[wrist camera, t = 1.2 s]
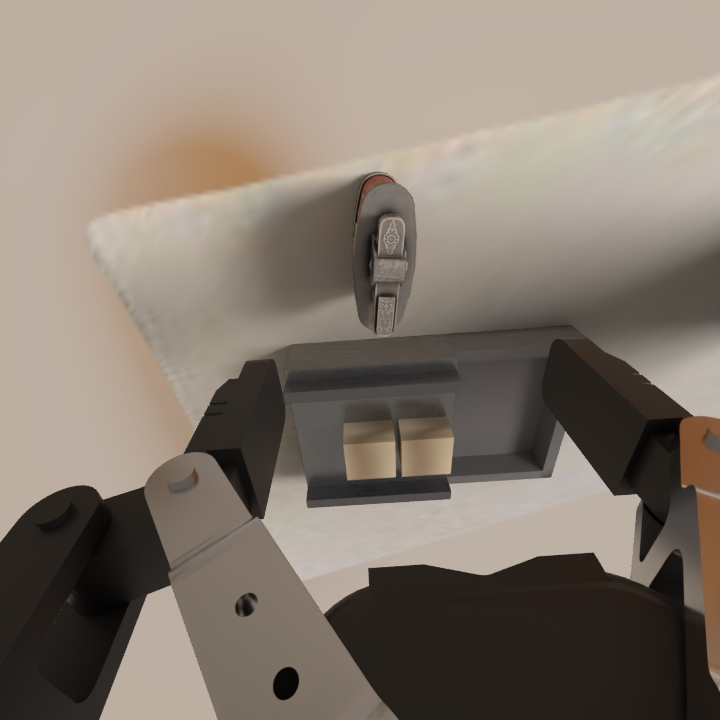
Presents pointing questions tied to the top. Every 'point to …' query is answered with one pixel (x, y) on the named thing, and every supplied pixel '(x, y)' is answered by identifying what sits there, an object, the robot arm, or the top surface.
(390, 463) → the chip
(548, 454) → the tray
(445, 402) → the slot block
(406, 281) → the lighter
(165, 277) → the top surface
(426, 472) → the chip
